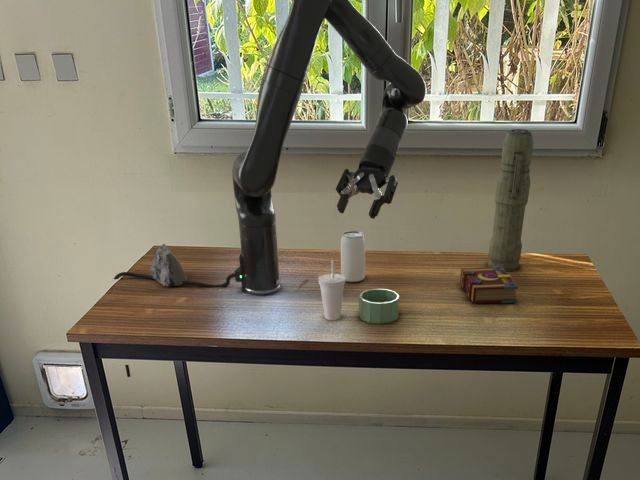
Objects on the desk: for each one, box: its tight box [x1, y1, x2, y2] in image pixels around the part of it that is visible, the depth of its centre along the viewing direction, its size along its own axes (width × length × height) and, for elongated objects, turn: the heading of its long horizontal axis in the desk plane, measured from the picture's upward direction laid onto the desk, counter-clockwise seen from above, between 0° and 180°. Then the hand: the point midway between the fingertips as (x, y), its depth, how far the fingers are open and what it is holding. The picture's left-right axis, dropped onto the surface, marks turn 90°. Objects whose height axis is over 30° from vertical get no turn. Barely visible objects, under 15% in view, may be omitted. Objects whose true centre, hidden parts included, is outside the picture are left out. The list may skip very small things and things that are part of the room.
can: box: [340, 230, 366, 283], centre depth 186 cm, size 6×6×12 cm
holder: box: [358, 288, 400, 325], centre depth 167 cm, size 9×9×5 cm
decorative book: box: [459, 266, 519, 304], centre depth 179 cm, size 11×16×5 cm
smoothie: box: [317, 259, 346, 321], centre depth 164 cm, size 6×6×14 cm
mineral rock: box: [149, 243, 188, 288], centre depth 186 cm, size 13×11×10 cm
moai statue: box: [487, 128, 534, 272], centre depth 188 cm, size 9×12×35 cm
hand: (355, 214), depth 164 cm, fingers open, 8 cm apart
